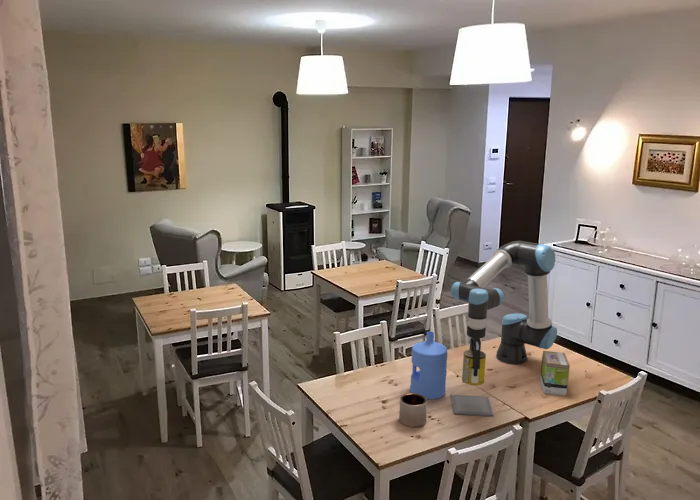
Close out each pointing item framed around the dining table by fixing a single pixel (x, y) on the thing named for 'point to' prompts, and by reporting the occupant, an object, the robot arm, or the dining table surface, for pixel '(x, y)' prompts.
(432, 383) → the water jug
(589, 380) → the dining table surface
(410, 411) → the planter
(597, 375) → the dining table surface
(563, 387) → the tea box
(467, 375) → the beverage can
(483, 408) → the plate
